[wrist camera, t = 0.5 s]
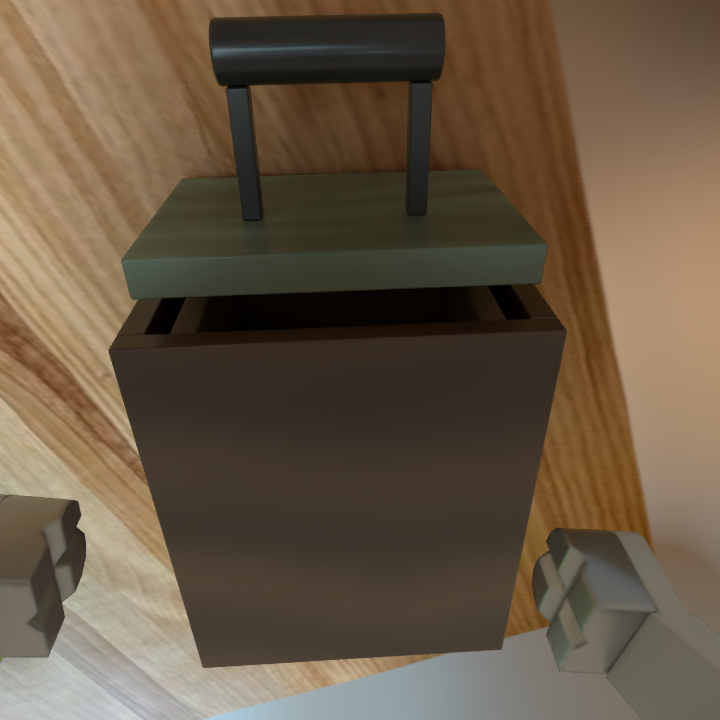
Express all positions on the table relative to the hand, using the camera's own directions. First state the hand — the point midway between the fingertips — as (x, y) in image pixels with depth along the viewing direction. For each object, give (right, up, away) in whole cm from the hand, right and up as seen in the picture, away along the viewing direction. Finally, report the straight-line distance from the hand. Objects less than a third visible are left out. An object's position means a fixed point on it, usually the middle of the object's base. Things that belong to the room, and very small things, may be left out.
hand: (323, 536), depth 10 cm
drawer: (0, +6, +14) cm, 16 cm away
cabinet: (0, +2, +18) cm, 18 cm away
